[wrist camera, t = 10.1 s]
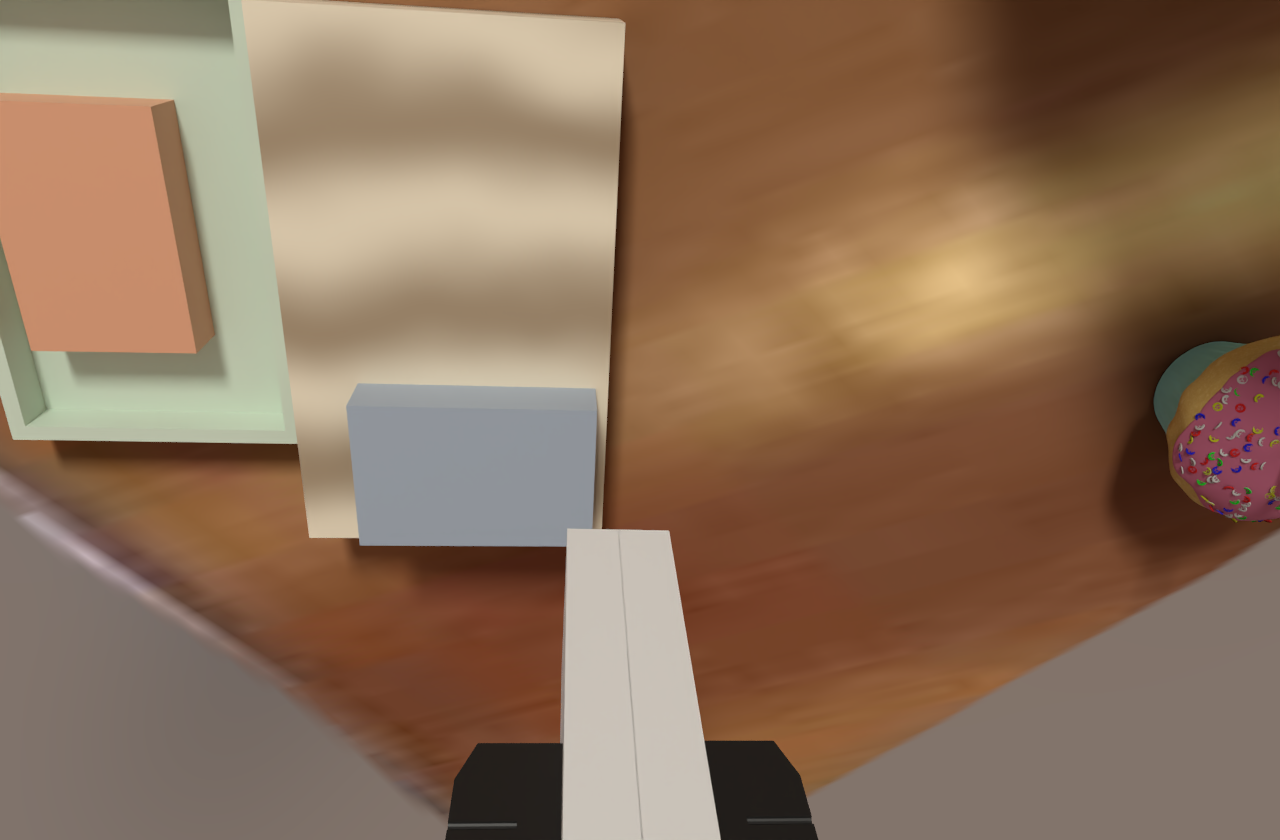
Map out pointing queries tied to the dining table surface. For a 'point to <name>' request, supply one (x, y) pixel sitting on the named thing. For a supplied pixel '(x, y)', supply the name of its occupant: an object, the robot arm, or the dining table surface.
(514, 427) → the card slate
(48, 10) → the tray
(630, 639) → the robot arm
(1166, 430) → the cupcake
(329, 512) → the beige flat box
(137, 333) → the orange flat block
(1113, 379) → the dining table surface
